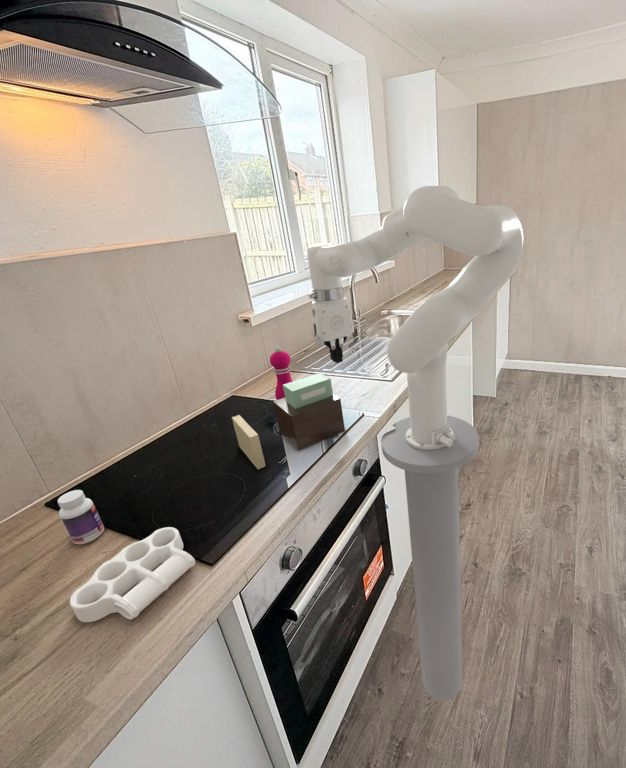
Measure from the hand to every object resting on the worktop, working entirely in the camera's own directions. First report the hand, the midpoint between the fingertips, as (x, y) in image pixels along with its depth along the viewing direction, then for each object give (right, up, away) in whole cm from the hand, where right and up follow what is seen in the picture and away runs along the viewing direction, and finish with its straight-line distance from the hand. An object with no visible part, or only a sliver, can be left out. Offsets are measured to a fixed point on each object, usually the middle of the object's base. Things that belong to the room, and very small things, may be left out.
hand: (337, 361), depth 113 cm
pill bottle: (-45, -37, -30) cm, 66 cm away
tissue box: (-7, -10, -2) cm, 13 cm away
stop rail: (-20, -25, -8) cm, 33 cm away
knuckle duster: (-28, -40, -42) cm, 64 cm away
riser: (-7, -20, +1) cm, 21 cm away
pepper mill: (-18, -14, +17) cm, 28 cm away
